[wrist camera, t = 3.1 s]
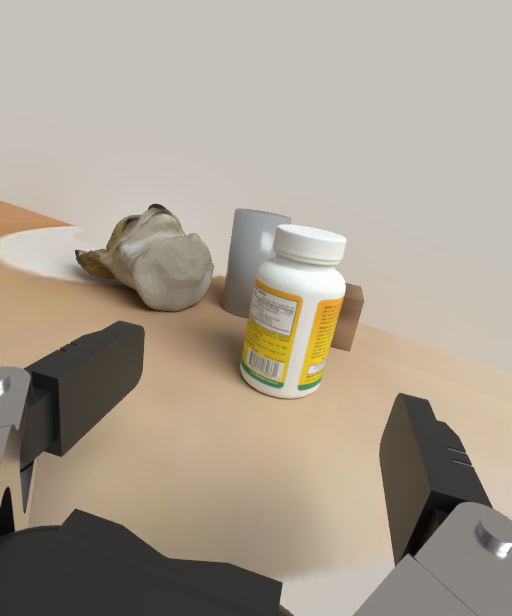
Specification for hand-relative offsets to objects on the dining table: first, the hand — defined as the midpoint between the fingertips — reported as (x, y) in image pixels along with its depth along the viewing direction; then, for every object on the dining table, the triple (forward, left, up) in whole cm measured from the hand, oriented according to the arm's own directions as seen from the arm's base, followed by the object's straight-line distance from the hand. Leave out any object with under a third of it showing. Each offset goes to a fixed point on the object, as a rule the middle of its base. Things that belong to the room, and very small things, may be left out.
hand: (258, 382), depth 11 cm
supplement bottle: (0, +11, -6) cm, 13 cm away
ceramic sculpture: (-15, +20, -6) cm, 26 cm away
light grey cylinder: (-5, +22, -6) cm, 23 cm away
